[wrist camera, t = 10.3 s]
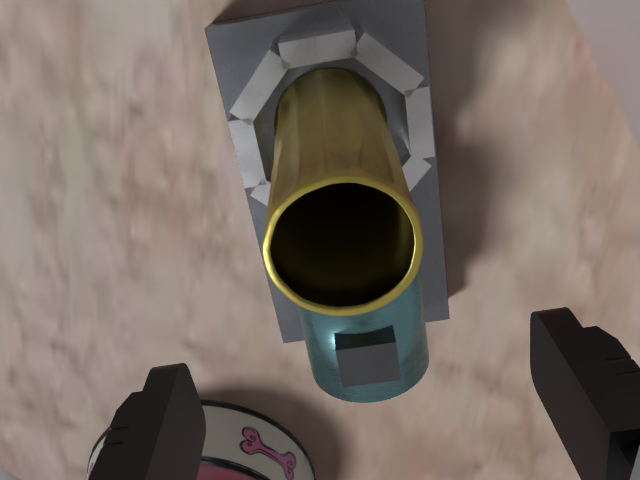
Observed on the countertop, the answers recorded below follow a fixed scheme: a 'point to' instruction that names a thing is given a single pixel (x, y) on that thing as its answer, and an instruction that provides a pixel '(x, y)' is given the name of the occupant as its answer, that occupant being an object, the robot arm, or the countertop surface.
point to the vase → (338, 199)
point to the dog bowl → (243, 447)
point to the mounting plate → (399, 34)
